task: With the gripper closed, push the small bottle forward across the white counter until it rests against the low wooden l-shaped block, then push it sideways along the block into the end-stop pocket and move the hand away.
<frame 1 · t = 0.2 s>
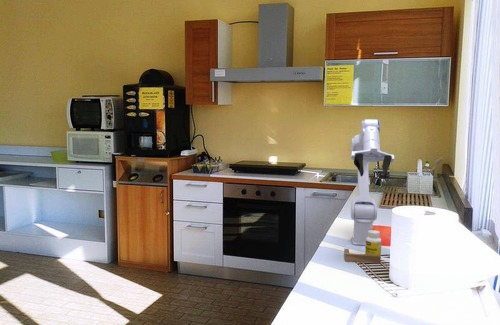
hand: (373, 175, 163), 31 cm above the countertop, tool tilted 45°, fingers open, 7 cm apart
supplement bottle: (372, 258, 173), on the countertop
wooden l-shaped block: (362, 261, 169), on the countertop
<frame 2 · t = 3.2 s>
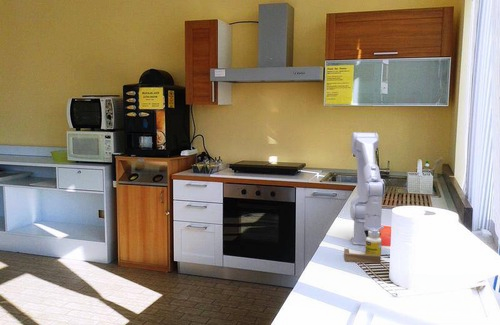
hand: (371, 250, 178), 1 cm above the countertop, tool pointing down, fingers closed
supplement bottle: (372, 258, 173), on the countertop, touching gripper
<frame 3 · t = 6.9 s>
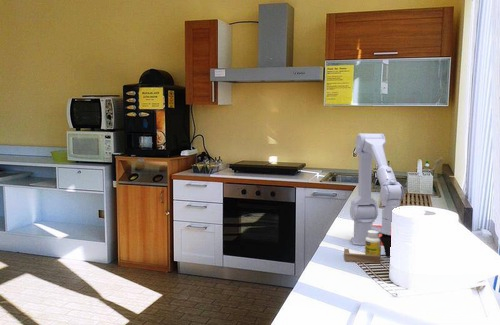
hand: (388, 256, 171), 1 cm above the countertop, tool pointing down, fingers closed
nothing on the countertop moved.
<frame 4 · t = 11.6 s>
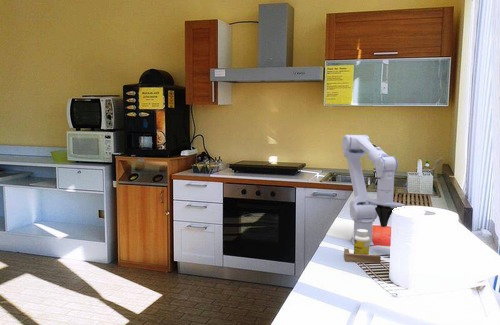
hand: (383, 226, 177), 10 cm above the countertop, tool pointing down, fingers closed
supplement bottle: (361, 257, 175), on the countertop
at the end: supplement bottle 2.4 cm from the target spot, on the countertop; supplement bottle tilted 1°; the gripper is holding nothing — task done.
